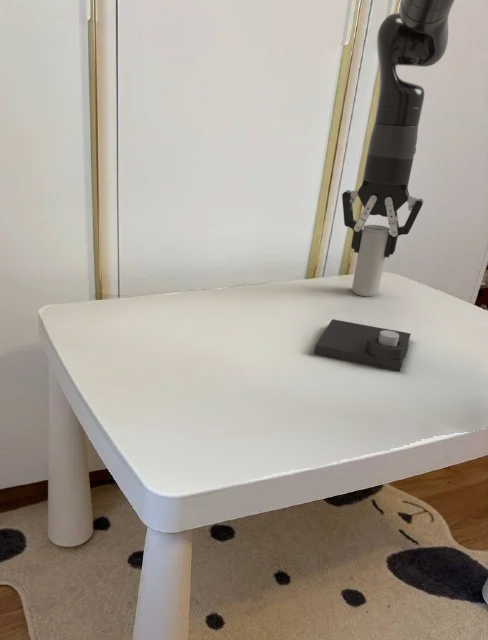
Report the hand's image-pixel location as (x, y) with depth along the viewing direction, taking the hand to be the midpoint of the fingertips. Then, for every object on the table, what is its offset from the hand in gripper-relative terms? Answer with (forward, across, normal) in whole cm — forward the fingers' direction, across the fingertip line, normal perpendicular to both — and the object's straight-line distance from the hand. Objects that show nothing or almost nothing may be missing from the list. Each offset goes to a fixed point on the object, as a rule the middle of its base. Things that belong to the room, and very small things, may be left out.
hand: (372, 253), depth 114 cm
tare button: (+5, +7, -31) cm, 32 cm away
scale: (+7, +4, -27) cm, 28 cm away
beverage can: (+8, 0, 0) cm, 8 cm away
